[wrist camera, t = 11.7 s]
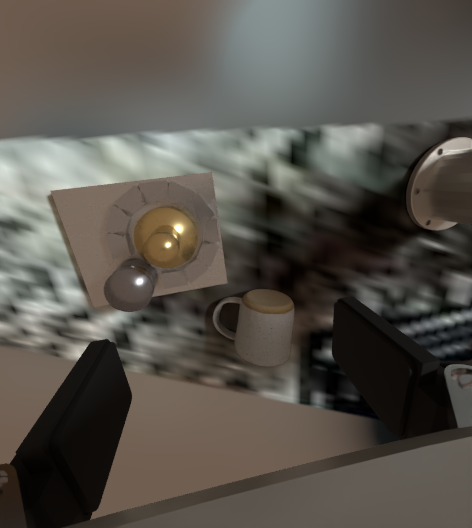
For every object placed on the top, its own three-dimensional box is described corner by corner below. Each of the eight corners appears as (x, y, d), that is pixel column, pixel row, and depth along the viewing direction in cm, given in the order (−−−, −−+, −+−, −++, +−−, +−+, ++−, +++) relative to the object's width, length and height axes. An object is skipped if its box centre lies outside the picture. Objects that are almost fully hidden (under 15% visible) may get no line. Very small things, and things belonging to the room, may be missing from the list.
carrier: (210, 172, 28) (215, 170, 23) (226, 279, 32) (231, 294, 28) (56, 190, 25) (27, 191, 21) (97, 303, 30) (81, 323, 26)
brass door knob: (190, 201, 27) (190, 207, 21) (202, 257, 29) (205, 277, 23) (128, 211, 26) (109, 220, 20) (146, 268, 29) (134, 291, 23)
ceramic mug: (284, 285, 34) (308, 311, 27) (278, 332, 37) (298, 367, 30) (213, 285, 33) (218, 314, 25) (211, 335, 35) (215, 374, 28)
